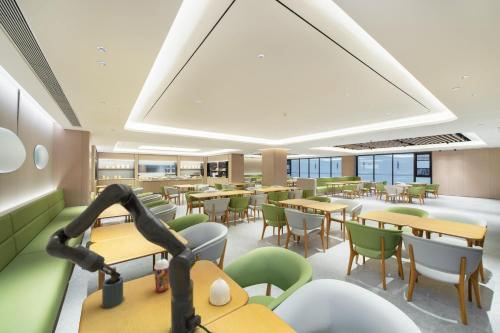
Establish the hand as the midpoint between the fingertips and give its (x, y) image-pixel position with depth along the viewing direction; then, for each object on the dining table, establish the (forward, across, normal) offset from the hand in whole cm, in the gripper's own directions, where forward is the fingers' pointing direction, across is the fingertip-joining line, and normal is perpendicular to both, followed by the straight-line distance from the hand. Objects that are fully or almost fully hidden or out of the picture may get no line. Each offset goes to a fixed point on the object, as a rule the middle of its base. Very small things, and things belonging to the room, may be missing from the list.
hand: (117, 275), depth 111 cm
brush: (+6, 0, +9) cm, 11 cm away
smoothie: (+23, -10, -4) cm, 25 cm away
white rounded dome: (+32, -43, -12) cm, 55 cm away
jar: (+8, +1, +11) cm, 14 cm away
